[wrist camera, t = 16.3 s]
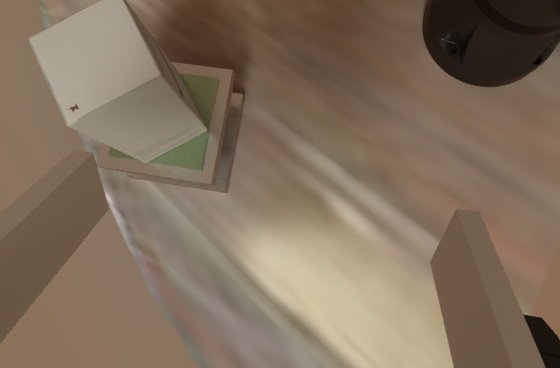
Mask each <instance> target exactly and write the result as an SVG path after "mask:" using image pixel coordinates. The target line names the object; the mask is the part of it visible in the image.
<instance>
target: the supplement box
mask: <svg viewBox="0 0 560 368" xmlns="http://www.w3.org/2000/svg"><path fill="white" fill-rule="evenodd" d="M29 42H30V45H31V47H32V49H33V51H34V53H35V55H36V58H37V60H38V62H39V64H40V67H41V69H42V71H43V73H44V75H45V78H46V80H47V83H48V85H49V87H50V89H51V91H52V93H53V95H54V98H55V100H56V102H57V104H58V106H59V108H60V111H61V113H62V115H63V117H64V120H65V122H66V125H67V126H68V127H70V128H73V129H75V130H77V131H79V132H81V133H83V134H85V135H87V136H89V137H91V138H93V139H96V140H98V141H100V142H102V143H104V144H106V145H108V146H110V147H112V148H114V149H117V150H119V151H121V152H123V153H125V154H127V155H129V156H131V157H133V158H136V159H138V160H140V161H142V162H144V163H147V162H149V161H151V160H153V159H155V158H157V157H158V156H160V155H162V154H164V153H166V152H168V151H170V150H172V149H174V148H176V147H178V146H180V145H181V144H183V143H185V142H187V141H189V140H191V139H193V138H195V137H196V136H198V135H200V134H202V133H204V132H206V131H207V130H208V128H207V126H206V125H205V123H204V121H203V120H202V118H201V116H200V114H199V112H198V110H197V109H196V107H195V105H194V103H193V101H192V99H191V97H190V95H189V93H188V91H187V89H186V87H185V85H184V83H183V81H182V79H181V77H180V74H179V72H178V71H177V69H176V68H175V67H174V65H173V64H172V62H171V61H170V60H169V58H168V57H167V55H166V54H165V53H164V51H163V50H162V49H161V47H160V46H159V45H158V43H157V42H156V40H155V39H154V38H153V36H152V35H151V34H150V32H149V31H148V30H147V28H146V27H145V26H144V24H143V23H142V22H141V20H140V19H139V18H138V17H137V15H136V14H135V12H134V11H133V10H132V8H131V7H130V6H129V4H128V3H127V2H126V0H101V1H99V2H97V3H95V4H93V5H91V6H89V7H87V8H85V9H83V10H81V11H80V12H78V13H76V14H74V15H72V16H70V17H68V18H66V19H65V20H63V21H61V22H59V23H57V24H55V25H53V26H51V27H49V28H47V29H45V30H43V31H41V32H39V33H37V34H35V35H33V36H30V37H29Z"/></svg>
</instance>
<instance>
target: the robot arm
mask: <svg viewBox="0 0 560 368" xmlns="http://www.w3.org/2000/svg"><path fill="white" fill-rule="evenodd" d="M423 35H424V40H425V43H426V46H427V49H428V51H429V53H430V54H431V56H432V58H433V59H434V60H435V62H436V63H437V64H438V65H439V66H440V67H441V68H442V69H443V70H444V71H445V72H446V73H448V74H449V75H451V76H452V77H454V78H456V79H458V80H460V81H462V82H465V83H468V84H471V85H475V86H482V87H496V86H503V85H507V84H510V83H513V82H516V81H518V80H520V79H522V78H523V77H525V76H526V75H528V74H529V73H531V72H532V71H534V70H535V69H536V68H538V67H539V66H540V65H541V64H543V63H544V62H545V61H546V60H547V59H548V57H549V56H550V55H551V54H552V52H553V51H554V49H555V48H556V46H557V44H558V43H559V41H560V0H430V2H429V4H428V6H427V8H426V11H425V15H424V19H423ZM108 209H109V207H108V203H107V200H106V196H105V193H104V189H103V186H102V182H101V179H100V175H99V172H98V168H97V164H96V161H95V157H94V154H93V153H91V152H84V151H77V150H73V151H72V152H71V153H70V154H68V155H67V156H66V157H65V158H64V159H63V160H61V161H60V162H59V163H58V164H57V165H56V166H55V167H53V168H52V169H51V170H50V171H49V172H48V173H47V174H46V175H44V176H43V177H42V178H41V179H40V180H39V181H37V182H36V183H35V184H34V185H33V186H32V187H30V188H29V189H28V190H27V191H26V192H25V193H24V194H22V195H21V196H20V197H19V198H18V199H17V200H16V201H14V202H13V203H12V204H11V205H10V206H9V207H7V208H6V209H5V210H4V211H3V212H2V213H1V214H0V343H1V342H2V341H3V340H4V338H5V337H6V336H7V334H8V333H9V332H10V331H11V330H12V329H13V327H14V326H15V325H16V323H17V322H18V321H19V320H20V319H21V317H22V316H23V315H24V314H25V312H26V311H27V310H28V309H29V307H30V306H31V305H32V304H33V302H34V301H35V300H36V299H37V298H38V296H39V295H40V294H41V292H42V291H43V290H44V289H45V288H46V286H47V285H48V284H49V283H50V281H51V280H52V279H53V278H54V276H55V275H56V274H57V273H58V271H59V270H60V269H61V268H62V266H63V265H64V264H65V263H66V261H67V260H68V259H69V258H70V256H71V255H72V254H73V252H75V250H76V249H77V248H78V246H79V245H80V244H81V243H82V242H83V240H84V239H85V238H86V237H87V235H88V234H89V233H90V232H91V230H92V229H93V228H94V227H95V225H96V224H97V223H98V222H99V221H100V219H101V218H102V217H103V216H104V214H105V213H106V212H107V211H108ZM430 263H431V268H432V272H433V277H434V281H435V285H436V290H437V294H438V299H439V303H440V308H441V312H442V316H443V321H444V325H445V330H446V334H447V338H448V343H449V347H450V352H451V356H452V361H453V365H454V368H560V340H559V338H558V336H557V335H556V334H555V333H554V332H553V330H552V329H551V328H550V327H549V326H548V325H547V324H546V322H545V321H544V320H543V319H542V318H540V317H534V316H528V315H523V313H522V311H521V309H520V306H519V304H518V302H517V299H516V297H515V294H514V292H513V290H512V287H511V285H510V283H509V280H508V278H507V276H506V273H505V271H504V269H503V266H502V264H501V262H500V259H499V257H498V255H497V252H496V250H495V248H494V245H493V243H492V241H491V238H490V236H489V233H488V231H487V229H486V226H485V224H484V222H483V219H482V217H481V215H480V212H474V211H467V210H461V209H456V211H455V213H454V215H453V217H452V219H451V221H450V223H449V225H448V227H447V229H446V231H445V233H444V235H443V237H442V239H441V241H440V243H439V245H438V247H437V249H436V251H435V253H434V255H433V257H432V259H431V261H430Z"/></svg>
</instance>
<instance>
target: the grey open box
mask: <svg viewBox="0 0 560 368" xmlns="http://www.w3.org/2000/svg"><path fill="white" fill-rule="evenodd" d="M172 64H173V65H174V67H175V68H176V69H177V71H178V72H179V74H180V77H181V79H182V81H183V83H184V85H185V87H186V89H187V91H188V93H189V95H190V97H191V99H192V101H193V103H194V105H195V107H196V109H197V110H198V112H199V114H200V116H201V118H202V120H203V121H204V123H205V125H206V126H207V128H208V130H207V131H206V132H204V133H202V134H200V135H198V136H196V137H195V138H193V139H191V140H189V141H187V142H185V143H183V144H181V145H180V146H178V147H176V148H174V149H172V150H170V151H168V152H166V153H164V154H162V155H160V156H158V157H157V158H155V159H153V160H151V161H149V162H147V163H144V162H142V161H140V160H138V159H136V158H133V157H131V156H129V155H127V154H125V153H123V152H121V151H119V150H117V149H114V148H112V147H110V146H108V145H106V144H104V143H102V142H101V147H100V151H99V155H98V160H97V167H100V168H103V169H109V170H115V171H121V172H127V175H126V176H127V177H130V178H134V179H141V180H147V181H153V182H160V183H166V184H172V185H179V186H185V187H191V188H198V189H204V190H210V191H217V192H223V193H227V192H228V186H229V181H230V175H231V170H232V164H233V159H234V153H235V148H236V142H237V137H238V132H239V126H240V121H241V115H242V110H243V104H244V96H243V94H239V93H232V91H233V86H234V81H235V74H234V72H233V70H229V69H222V68H214V67H207V66H199V65H192V64H184V63H176V62H172Z"/></svg>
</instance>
